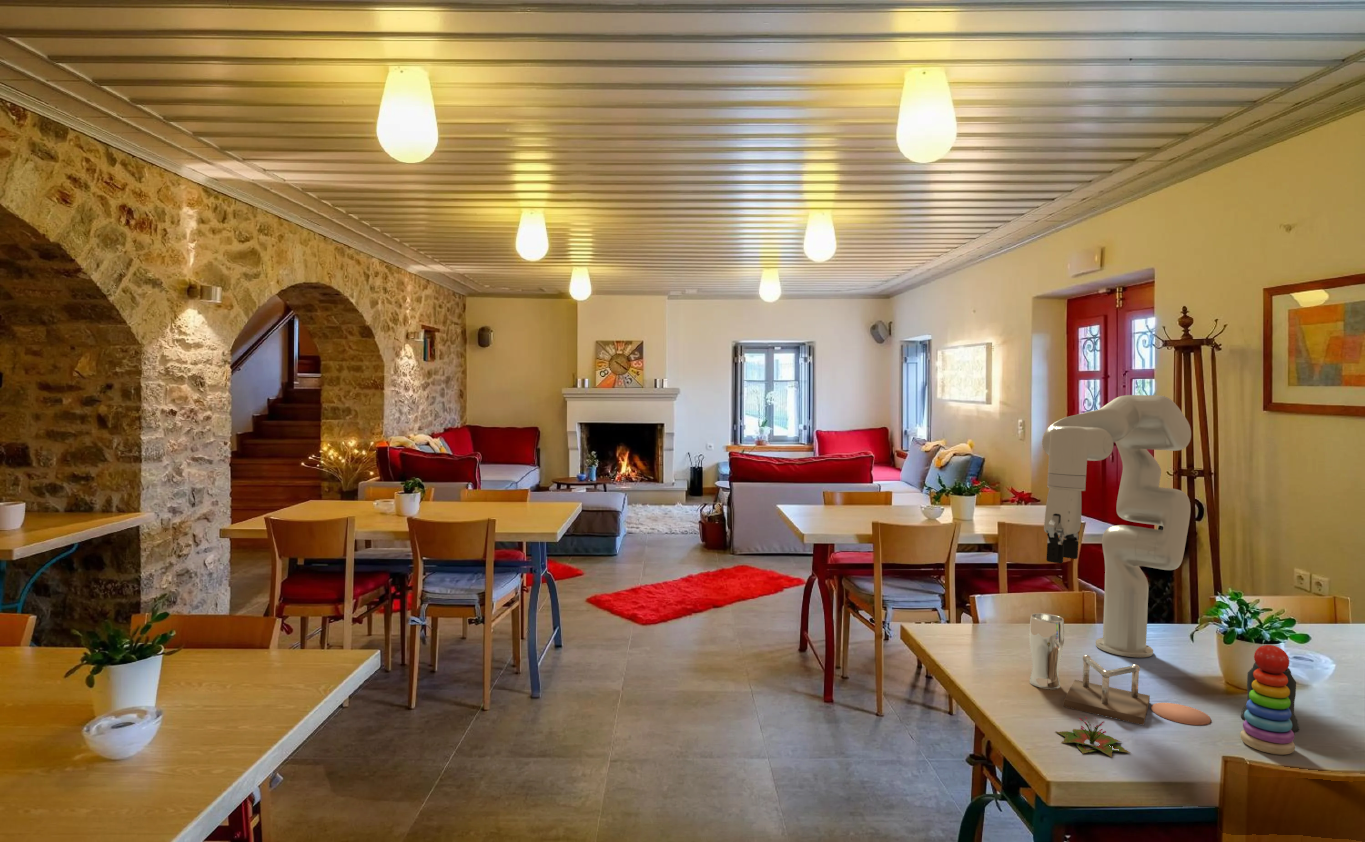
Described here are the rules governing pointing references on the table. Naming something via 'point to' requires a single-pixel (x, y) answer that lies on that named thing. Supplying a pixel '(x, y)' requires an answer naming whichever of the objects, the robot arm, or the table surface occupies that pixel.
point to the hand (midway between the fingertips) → (1062, 560)
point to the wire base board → (1117, 706)
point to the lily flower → (1092, 739)
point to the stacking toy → (1269, 704)
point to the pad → (1181, 713)
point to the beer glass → (1046, 649)
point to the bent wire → (1106, 674)
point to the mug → (1292, 688)
